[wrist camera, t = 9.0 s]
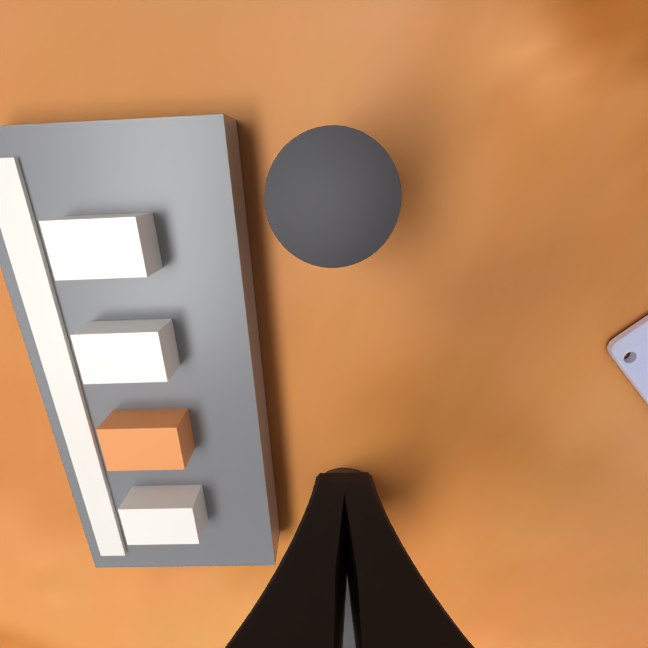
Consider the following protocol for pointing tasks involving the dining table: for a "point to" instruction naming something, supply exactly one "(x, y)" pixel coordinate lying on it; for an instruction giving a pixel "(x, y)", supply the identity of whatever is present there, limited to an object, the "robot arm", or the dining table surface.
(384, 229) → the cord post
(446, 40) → the dining table surface
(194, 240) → the breaker panel
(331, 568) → the robot arm
